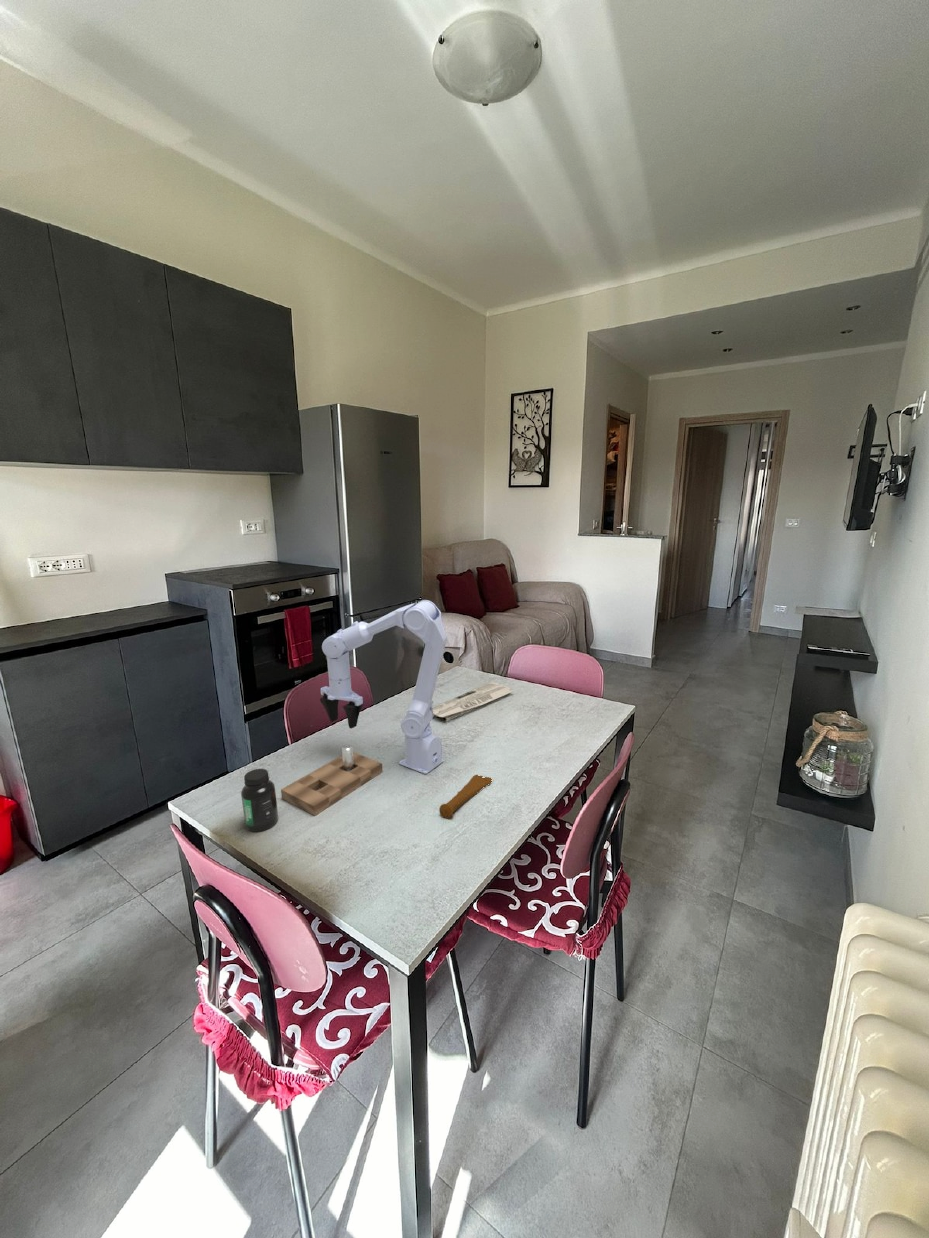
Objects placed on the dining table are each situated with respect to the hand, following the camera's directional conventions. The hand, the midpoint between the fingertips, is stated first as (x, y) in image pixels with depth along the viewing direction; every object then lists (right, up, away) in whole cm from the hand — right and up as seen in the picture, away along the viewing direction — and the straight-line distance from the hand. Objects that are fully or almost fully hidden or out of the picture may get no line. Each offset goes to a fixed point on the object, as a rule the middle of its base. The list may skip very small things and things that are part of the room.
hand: (343, 723), depth 136 cm
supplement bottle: (-12, -17, -26) cm, 33 cm away
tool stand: (+1, -13, -12) cm, 18 cm away
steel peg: (+4, -12, -8) cm, 15 cm away
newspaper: (+36, -1, +35) cm, 50 cm away
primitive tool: (+34, -14, -17) cm, 40 cm away
